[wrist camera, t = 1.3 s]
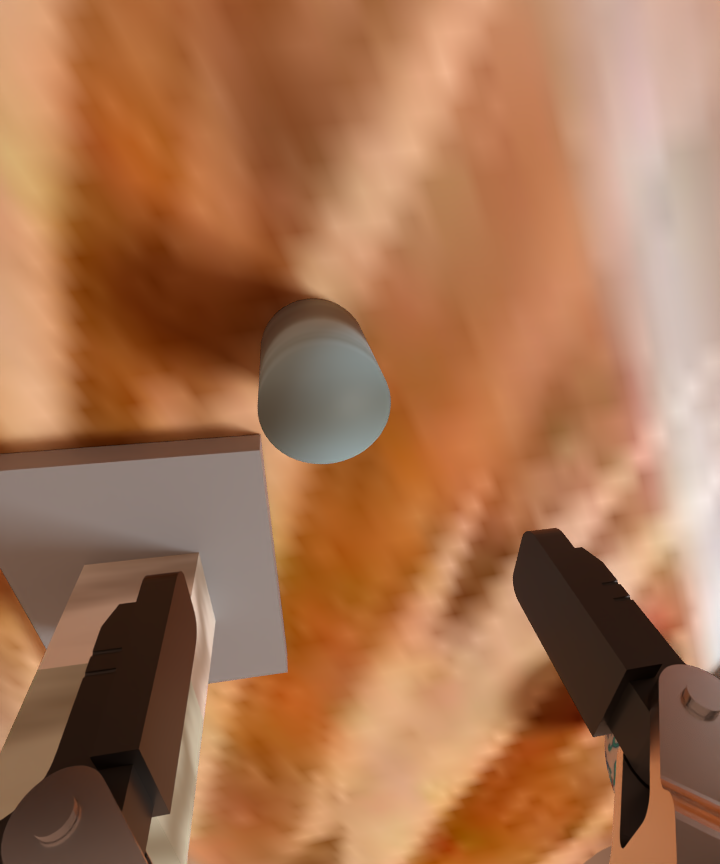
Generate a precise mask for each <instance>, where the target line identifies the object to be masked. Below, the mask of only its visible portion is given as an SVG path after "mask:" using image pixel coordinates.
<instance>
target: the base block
mask: <svg viewBox="0 0 720 864" xmlns="http://www.w3.org/2000/svg"><path fill="white" fill-rule="evenodd" d="M179 571H182V572H183V574H184V576H185V579H186V583H187V587H188V590H189V594H190V597H191V601H192V605H193V608H194V612H195V616H196V624H197V640H196V648H195V655H194V661H193V668H192V674H191V682H192V685H193V688H194V691H195V695H196V698H197V701H198V704H199V707H200V710H201V714H202V717H203V720H204V714H205V706H206V697H207V689H208V680H209V672H210V664H211V655H212V647H213V638H214V630H215V622H216V621H215V617H214V613H213V609H212V604H211V600H210V596H209V592H208V588H207V584H206V579H205V575H204V571H203V567H202V563H201V559H200V555H199V553H191V554H182V555H172V556H163V557H154V558H145V559H135V560H126V561H117V562H108V563H98V564H89V565H84V567H83V569H82V571H81V574H80V576H79V578H78V580H77V582H76V585H75V587H74V589H73V591H72V594H71V596H70V598H69V600H68V603H67V605H66V607H65V609H64V612H63V614H62V616H61V618H60V621H59V623H58V625H57V627H56V630H55V632H54V634H53V636H52V639H51V641H50V643H49V645H48V647H47V650H46V652H45V654H44V656H43V659H42V661H41V663H40V665H39V668H38V670H41V669H49V668H56V667H63V666H71V665H78V664H86V663H88V662H89V659H90V657H91V656H92V655H93V652H92V651H93V648H94V645H95V643H96V640H97V637H98V634H99V631H100V629H101V626H102V625H103V624H104V622H105V621H106V620H107V619H108V617H109V616H110V615H111V614H112V612H113V611H114V610H115V609H116V607H117V606H118V605H119V604H123V603H131V602H136V600H137V597H138V594H139V590H140V587H141V584H142V581H143V579H144V577H145V576H146V575H153V574H162V573H170V572H179Z"/></svg>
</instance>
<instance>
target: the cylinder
mask: <svg viewBox="0 0 720 864" xmlns="http://www.w3.org/2000/svg"><path fill="white" fill-rule="evenodd" d="M390 406H391V400H390V392H389V388H388V385H387V382H386V380H385V378H384V376H383V374H382V372H381V370H380V368H379V366H378V364H377V361H376V359H375V357H374V355H373V353H372V351H371V349H370V347H369V345H368V343H367V341H366V339H365V337H364V334H363V332H362V330H361V328H360V326H359V324H358V323H357V321H356V320H355V318H354V317H353V316H352V315H351V314H350V313H349V312H348V311H347V310H346V309H344V308H343V307H341V306H340V305H338V304H335V303H333V302H330V301H327V300H322V299H304V300H300V301H296V302H293V303H291V304H289V305H287V306H285V307H284V308H282V309H281V310H279V311H278V312H277V313H276V314H275V315H274V316H273V317H272V319H271V320H270V321H269V323H268V324H267V326H266V328H265V331H264V333H263V337H262V341H261V355H260V373H259V391H258V417H259V422H260V424H261V427H262V430H263V432H264V433H265V435H266V437H267V438H268V439H269V441H270V442H271V443H272V444H273V445H274V446H275V447H276V448H277V449H278V450H280V451H281V452H282V453H284V454H286V455H287V456H289V457H291V458H293V459H296V460H299V461H302V462H307V463H313V464H329V463H336V462H340V461H344V460H347V459H349V458H352V457H354V456H356V455H358V454H359V453H361V452H363V451H364V450H365V449H367V448H368V447H369V446H370V445H371V444H372V443H373V442H374V441H375V440H376V439H377V438H378V437H379V435H380V434H381V433H382V431H383V429H384V427H385V425H386V423H387V420H388V417H389V413H390Z"/></svg>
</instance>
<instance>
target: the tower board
mask: <svg viewBox="0 0 720 864" xmlns="http://www.w3.org/2000/svg"><path fill="white" fill-rule="evenodd" d="M191 553H199V555H200V559H201V563H202V567H203V571H204V575H205V579H206V584H207V588H208V592H209V596H210V600H211V604H212V609H213V613H214V617H215V621H216V622H215V630H214V638H213V647H212V655H211V664H210V672H209V680H208V684H209V683H216V682H223V681H230V680H237V679H243V678H250V677H257V676H264V675H271V674H278V673H285V672H288V671H287V649H286V641H285V633H284V624H283V616H282V608H281V600H280V592H279V583H278V575H277V567H276V559H275V551H274V543H273V534H272V526H271V518H270V510H269V502H268V493H267V485H266V477H265V469H264V461H263V452H262V444H261V436H260V435H247V436H234V437H220V438H207V439H194V440H180V441H167V442H154V443H141V444H127V445H114V446H101V447H87V448H74V449H61V450H48V451H34V452H21V453H8V454H0V568H1V570H2V572H3V574H4V575H5V577H6V579H7V581H8V583H9V584H10V586H11V588H12V590H13V591H14V593H15V595H16V597H17V598H18V600H19V602H20V604H21V605H22V607H23V609H24V611H25V613H26V614H27V616H28V618H29V620H30V621H31V623H32V625H33V627H34V628H35V630H36V632H37V634H38V635H39V637H40V639H41V641H42V642H43V644H44V646H45V648H46V650H47V647H48V645H49V643H50V641H51V639H52V636H53V634H54V632H55V630H56V627H57V625H58V623H59V621H60V618H61V616H62V614H63V612H64V609H65V607H66V605H67V603H68V600H69V598H70V596H71V594H72V591H73V589H74V587H75V585H76V582H77V580H78V578H79V576H80V574H81V571H82V569H83V567H84V565H89V564H98V563H108V562H117V561H126V560H135V559H145V558H154V557H163V556H172V555H182V554H191Z"/></svg>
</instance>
